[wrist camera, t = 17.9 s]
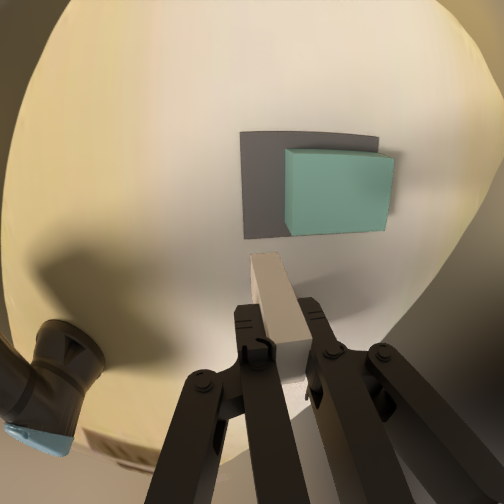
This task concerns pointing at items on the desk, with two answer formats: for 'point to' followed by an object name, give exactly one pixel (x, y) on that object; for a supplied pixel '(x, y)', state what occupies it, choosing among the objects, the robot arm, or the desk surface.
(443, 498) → the robot arm
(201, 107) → the desk surface
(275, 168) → the mat
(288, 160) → the block
